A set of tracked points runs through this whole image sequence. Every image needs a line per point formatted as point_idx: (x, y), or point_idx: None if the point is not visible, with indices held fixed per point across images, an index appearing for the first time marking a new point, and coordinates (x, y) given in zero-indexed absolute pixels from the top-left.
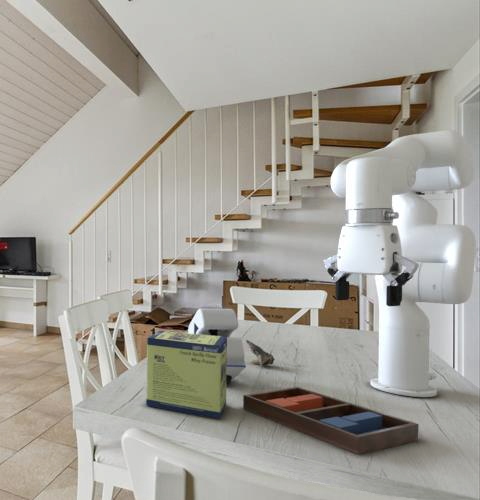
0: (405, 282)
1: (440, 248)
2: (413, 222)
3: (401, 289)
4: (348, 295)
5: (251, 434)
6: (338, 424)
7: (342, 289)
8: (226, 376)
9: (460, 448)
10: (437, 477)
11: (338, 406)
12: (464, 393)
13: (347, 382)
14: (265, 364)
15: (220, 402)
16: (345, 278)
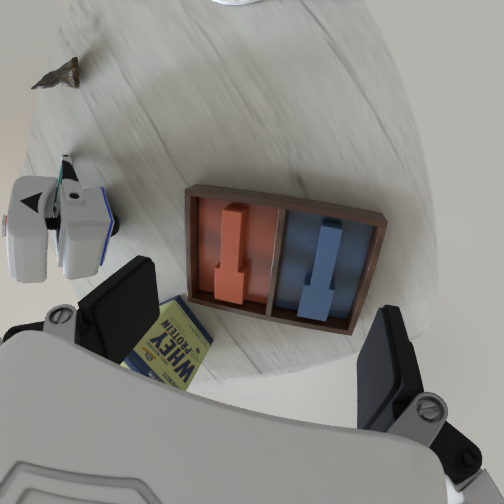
0: (443, 424)
1: None
2: None
3: (419, 389)
4: (143, 273)
5: (257, 351)
6: (319, 313)
7: (131, 331)
8: (113, 232)
9: (421, 196)
10: (415, 312)
11: (281, 238)
12: None
13: (176, 13)
14: (77, 79)
15: (205, 351)
16: (83, 342)
